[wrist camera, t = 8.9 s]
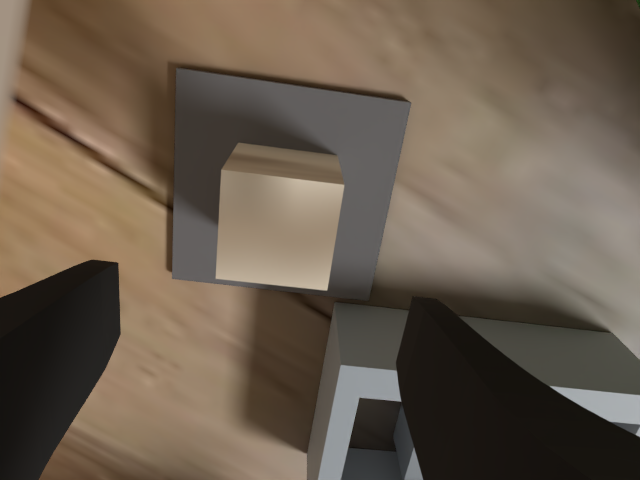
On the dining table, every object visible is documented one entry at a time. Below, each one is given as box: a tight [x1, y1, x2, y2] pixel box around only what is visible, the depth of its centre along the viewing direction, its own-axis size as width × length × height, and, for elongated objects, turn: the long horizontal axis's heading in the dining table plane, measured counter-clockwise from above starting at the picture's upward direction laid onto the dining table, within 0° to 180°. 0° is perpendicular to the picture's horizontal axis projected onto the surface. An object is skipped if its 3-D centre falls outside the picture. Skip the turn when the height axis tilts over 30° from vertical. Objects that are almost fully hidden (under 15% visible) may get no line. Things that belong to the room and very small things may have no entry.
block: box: [216, 143, 344, 291], centre depth 18 cm, size 4×4×4 cm
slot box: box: [307, 302, 640, 480], centre depth 23 cm, size 10×14×5 cm
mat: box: [172, 68, 411, 301], centre depth 20 cm, size 9×9×1 cm
